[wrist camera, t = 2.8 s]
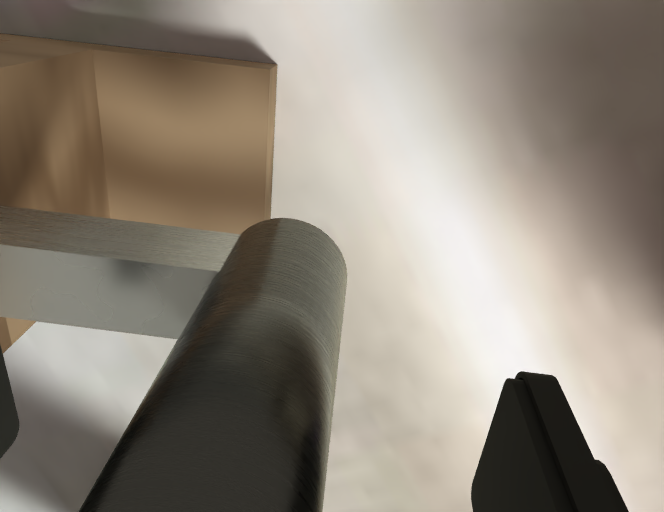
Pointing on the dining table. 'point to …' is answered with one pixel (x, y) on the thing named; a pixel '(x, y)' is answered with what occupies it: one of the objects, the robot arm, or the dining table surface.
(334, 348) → the shaft
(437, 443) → the dining table surface
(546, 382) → the robot arm
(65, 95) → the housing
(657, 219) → the dining table surface
